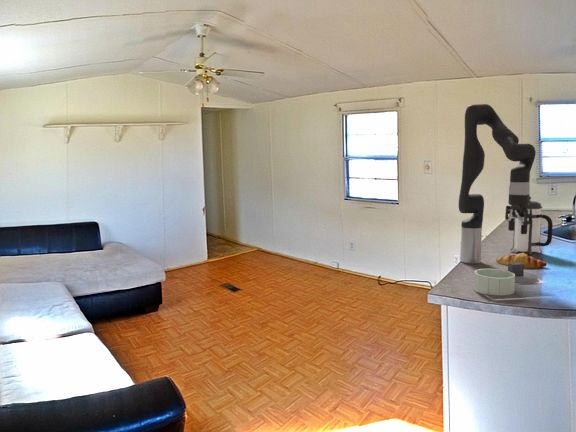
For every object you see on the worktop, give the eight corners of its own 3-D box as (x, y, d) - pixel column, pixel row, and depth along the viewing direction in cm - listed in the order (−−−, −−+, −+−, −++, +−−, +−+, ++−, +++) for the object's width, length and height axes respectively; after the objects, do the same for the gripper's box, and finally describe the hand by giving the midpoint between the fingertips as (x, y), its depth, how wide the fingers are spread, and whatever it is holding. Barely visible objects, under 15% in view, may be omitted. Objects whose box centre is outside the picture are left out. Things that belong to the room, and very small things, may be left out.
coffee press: (512, 255, 223) (515, 197, 218) (508, 249, 238) (510, 194, 233) (551, 257, 217) (554, 197, 213) (543, 250, 232) (546, 194, 228)
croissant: (494, 272, 206) (493, 259, 202) (497, 258, 213) (496, 245, 209) (545, 277, 194) (545, 263, 190) (547, 262, 201) (547, 249, 197)
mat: (486, 275, 188) (486, 273, 188) (521, 273, 190) (521, 272, 190) (508, 285, 173) (508, 284, 172) (546, 283, 174) (546, 282, 174)
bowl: (467, 286, 173) (467, 269, 172) (500, 284, 174) (501, 267, 173) (485, 297, 160) (486, 279, 159) (522, 295, 161) (522, 277, 160)
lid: (486, 273, 188) (487, 260, 187) (521, 272, 190) (522, 258, 189) (508, 284, 172) (509, 269, 172) (546, 282, 174) (547, 267, 173)
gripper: (500, 192, 183) (499, 229, 185) (521, 194, 169) (519, 235, 171) (517, 191, 184) (515, 229, 186) (539, 194, 170) (537, 234, 172)
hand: (517, 232), depth 178 cm, fingers open, 8 cm apart
